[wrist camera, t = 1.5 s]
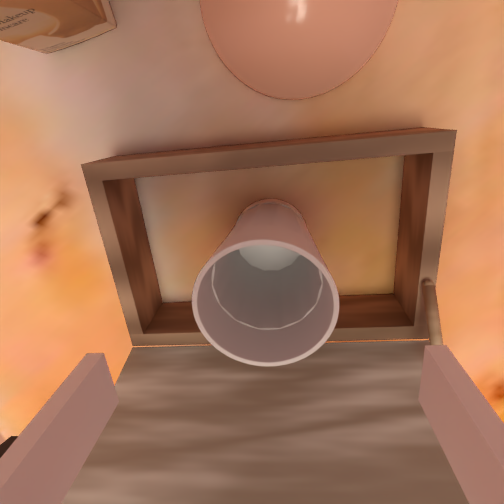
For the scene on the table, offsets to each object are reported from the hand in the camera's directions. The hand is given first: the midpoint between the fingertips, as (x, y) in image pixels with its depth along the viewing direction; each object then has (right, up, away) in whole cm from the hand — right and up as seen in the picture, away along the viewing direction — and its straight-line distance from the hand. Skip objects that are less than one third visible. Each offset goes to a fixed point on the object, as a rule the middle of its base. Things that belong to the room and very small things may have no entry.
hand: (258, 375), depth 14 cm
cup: (+1, +7, +15) cm, 17 cm away
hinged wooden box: (+1, +5, +16) cm, 17 cm away
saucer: (+3, +22, +8) cm, 24 cm away
